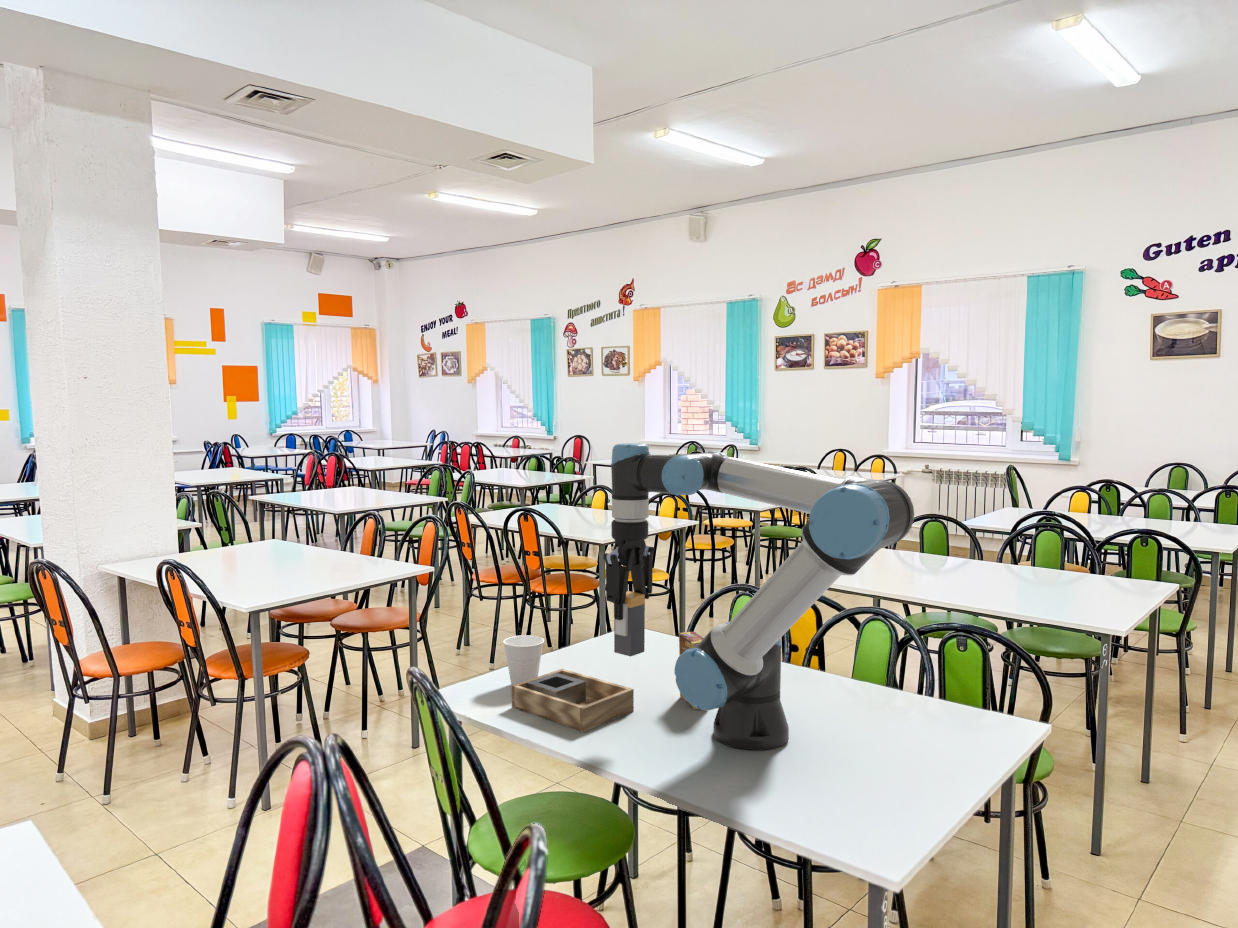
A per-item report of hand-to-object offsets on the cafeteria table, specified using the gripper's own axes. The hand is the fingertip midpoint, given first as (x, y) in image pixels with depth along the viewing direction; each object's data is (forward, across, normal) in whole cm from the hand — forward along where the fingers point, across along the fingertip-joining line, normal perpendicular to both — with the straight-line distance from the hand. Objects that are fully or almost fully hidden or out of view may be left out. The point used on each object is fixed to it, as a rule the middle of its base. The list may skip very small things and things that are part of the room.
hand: (629, 631), depth 174 cm
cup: (+21, -5, -37) cm, 43 cm away
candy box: (+21, -22, +1) cm, 30 cm away
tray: (+21, -1, -17) cm, 27 cm away
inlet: (+21, -1, -22) cm, 31 cm away
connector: (+4, 0, 0) cm, 4 cm away
